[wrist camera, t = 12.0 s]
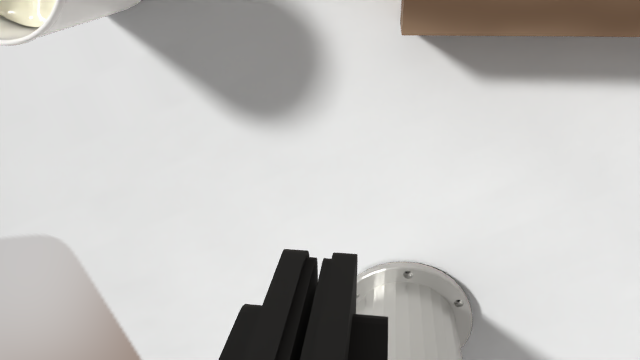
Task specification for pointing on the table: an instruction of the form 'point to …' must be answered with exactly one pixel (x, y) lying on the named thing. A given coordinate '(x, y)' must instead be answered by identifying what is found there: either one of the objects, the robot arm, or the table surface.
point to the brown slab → (521, 18)
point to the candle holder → (51, 16)
